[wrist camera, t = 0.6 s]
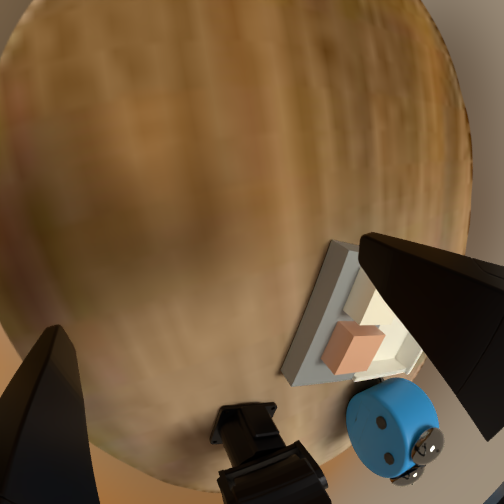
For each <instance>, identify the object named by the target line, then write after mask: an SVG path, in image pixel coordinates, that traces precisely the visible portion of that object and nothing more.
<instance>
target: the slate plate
mask: <svg viewBox="0 0 504 504" xmlns="http://www.w3.org/2000/svg"><path fill="white" fill-rule="evenodd" d="M358 253H359V245H354V244H350V243H345V242H340V241H336V240H331V243H330V246H329V249H328V252H327V254H326V257H325V260H324V263H323V265H322V268H321V271H320V274H319V276H318V279H317V282H316V284H315V287H314V290H313V292H312V295H311V297H310V300H309V302H308V305H307V308H306V310H305V313H304V315H303V318H302V320H301V323H300V325H299V328H298V330H297V333H296V335H295V337H294V340H293V342H292V345H291V347H290V349H289V352H288V354H287V356H286V359H285V361H284V363H283V366H282V368H281V372H282V373H283V375H284V376H285V378H286V379H287V381H288V382H289V384H290V385H291V387H293V386H303V385H312V384H321V383H329V382H336V381H343V380H350V379H352V378H353V376H354V374H355V373H356V372H355V373H348V374H340V375H334V374H333V373H332V372H331V370H330V369H329V368H328V367H327V366H326V364H325V363H324V362H323V361H322V360H321V357H322V355H323V352H324V350H325V348H326V346H327V344H328V342H329V340H330V338H331V335H332V333H333V331H334V329H335V326H336V324H337V322H338V321H354V320H353V319H352V318H351V317H350V316H349V315H348V314H347V313H345V312H344V311H343V308H344V306H345V304H346V301H347V299H348V296H349V294H350V292H351V289H352V287H353V284H354V282H355V279H356V277H357V274H358V272H359V269H360V267H361V266H360V264H359V261H358ZM375 326H376V327H377V328H378V329H379V326H380V325H375Z"/></svg>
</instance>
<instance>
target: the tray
mask: <svg viewBox="0 0 504 504" xmlns="http://www.w3.org/2000/svg"><path fill="white" fill-rule="evenodd" d="M379 329H380V330H381V331H382V332H383V333H384V334H385V335H386V336H385V337H384V339H383V341H382V343H381V345H380V347H379V349H378V351H377V353H376V355H375V357H374V358H373V360H372V362H371V364H370V366H369V367H368V369H367V371H362V372H356V373H355V374H354V376H353V378H352V380H353V381H354V382H357V381H363V380H369V379H374V378H379V377H385V376H389V375H394V374H399V373H406V374H410V372H411V370H412V369H413V367H414V365H415V363H416V362H417V360H418V358H419V357H420V355H421V353H422V351H423V350H422V348H421V347H420V346H419V345H418V343H417V342H416V341H415V339H414V338H413V337H412V335H411V334H410V333H409V332H408V330H407V329H406V328H405V326H404V325H403V324H402V323H401V321H400V320H399V319H398V318H397V316H396V315H395V317H394V319H393V321H392V323H391V325H380V326H379Z"/></svg>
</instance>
